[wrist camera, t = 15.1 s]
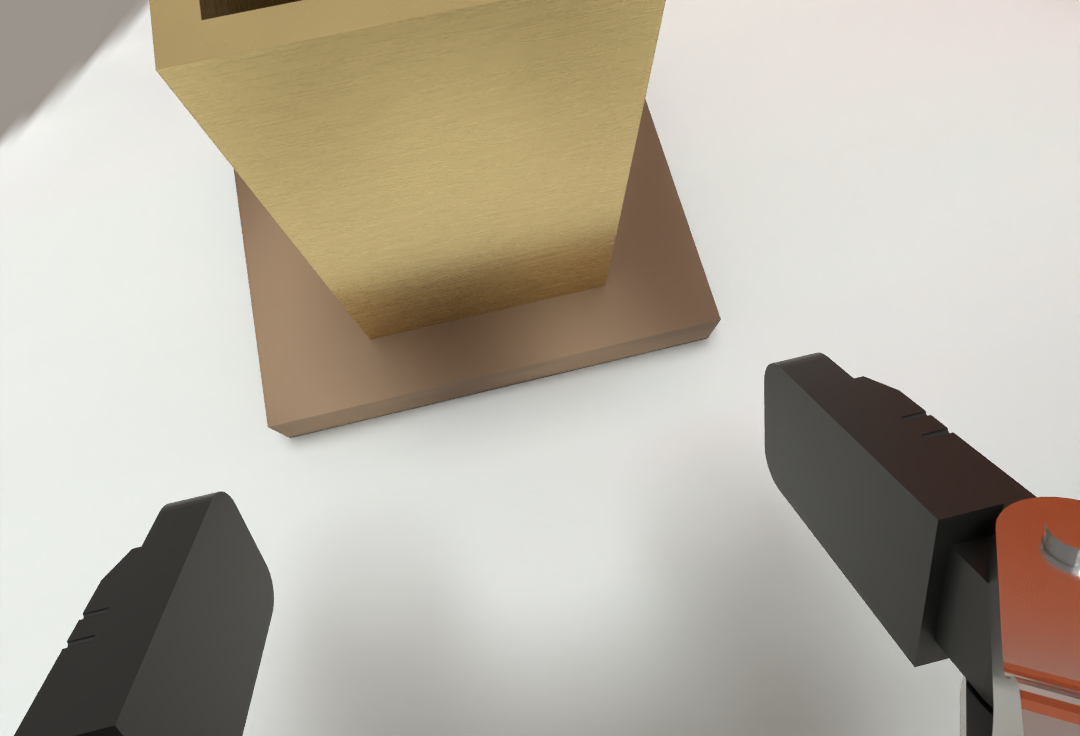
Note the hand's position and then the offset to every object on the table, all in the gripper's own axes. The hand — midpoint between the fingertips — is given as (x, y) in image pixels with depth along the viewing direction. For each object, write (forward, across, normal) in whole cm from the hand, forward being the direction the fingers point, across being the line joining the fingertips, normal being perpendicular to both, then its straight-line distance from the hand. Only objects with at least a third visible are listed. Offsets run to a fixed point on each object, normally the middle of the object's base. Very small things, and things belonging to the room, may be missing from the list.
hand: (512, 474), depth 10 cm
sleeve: (+11, 0, -1) cm, 11 cm away
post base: (+12, 0, 0) cm, 12 cm away
